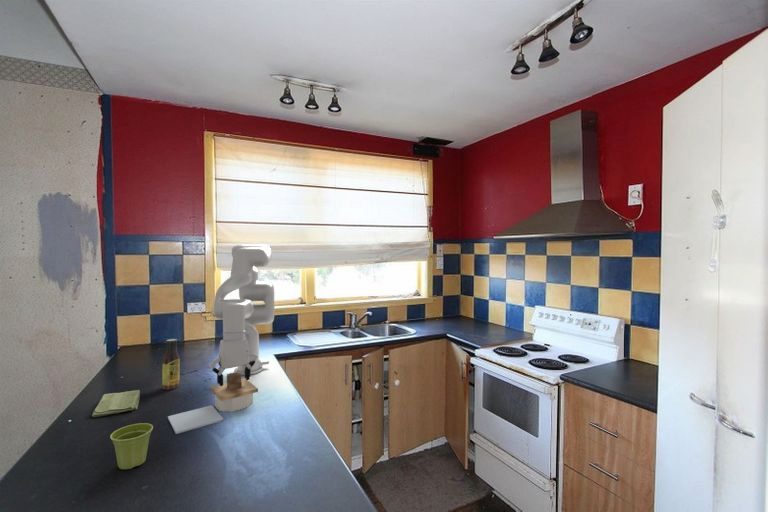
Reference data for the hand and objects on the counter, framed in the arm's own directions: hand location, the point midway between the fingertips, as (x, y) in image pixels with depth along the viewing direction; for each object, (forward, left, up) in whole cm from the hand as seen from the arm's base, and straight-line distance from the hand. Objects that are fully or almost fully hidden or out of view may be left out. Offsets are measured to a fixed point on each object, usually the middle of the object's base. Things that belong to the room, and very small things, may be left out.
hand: (234, 381), depth 134 cm
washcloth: (+33, -26, -9) cm, 43 cm away
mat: (+14, +4, -8) cm, 17 cm away
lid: (0, 0, -3) cm, 3 cm away
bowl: (0, 0, -8) cm, 8 cm away
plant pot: (+33, +21, -9) cm, 40 cm away
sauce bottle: (+15, -34, -9) cm, 38 cm away
